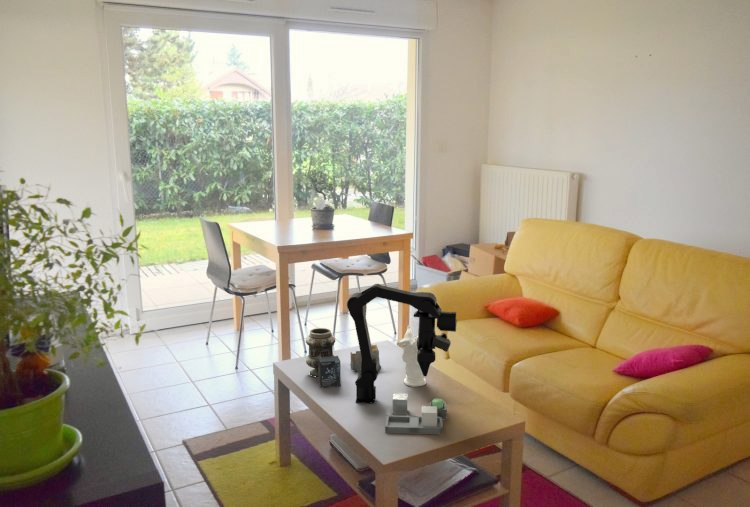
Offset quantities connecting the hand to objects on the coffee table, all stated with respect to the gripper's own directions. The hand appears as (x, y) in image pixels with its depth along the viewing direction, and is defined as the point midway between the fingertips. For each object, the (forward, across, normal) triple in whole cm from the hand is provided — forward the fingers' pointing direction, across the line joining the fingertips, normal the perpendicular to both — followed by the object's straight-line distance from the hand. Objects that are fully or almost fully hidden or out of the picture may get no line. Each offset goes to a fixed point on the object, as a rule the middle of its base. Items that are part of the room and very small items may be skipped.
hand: (424, 371), depth 233 cm
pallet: (+12, -19, +3) cm, 23 cm away
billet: (+13, -8, +8) cm, 17 cm away
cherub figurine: (+13, +18, +5) cm, 23 cm away
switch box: (+12, -9, -5) cm, 16 cm away
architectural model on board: (+14, +34, +24) cm, 43 cm away
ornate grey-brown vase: (+14, +27, +41) cm, 51 cm away
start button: (+11, -9, -5) cm, 15 cm away
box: (+14, +16, +36) cm, 42 cm away
